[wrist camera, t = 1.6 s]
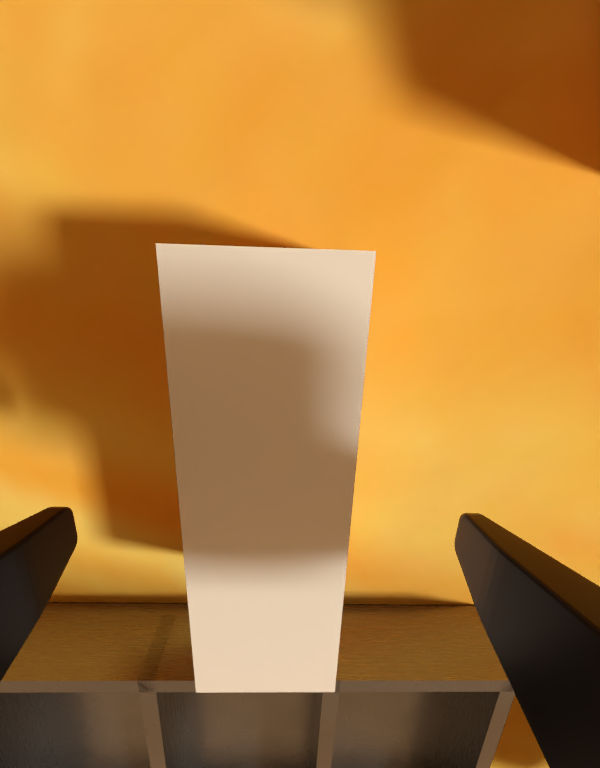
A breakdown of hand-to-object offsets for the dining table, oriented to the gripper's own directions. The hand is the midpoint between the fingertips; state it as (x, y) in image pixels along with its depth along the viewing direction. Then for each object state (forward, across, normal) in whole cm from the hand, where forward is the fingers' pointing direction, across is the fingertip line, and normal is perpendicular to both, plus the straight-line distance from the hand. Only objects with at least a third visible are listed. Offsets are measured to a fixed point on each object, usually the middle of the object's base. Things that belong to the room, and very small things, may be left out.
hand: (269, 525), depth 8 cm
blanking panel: (+5, 0, 0) cm, 5 cm away
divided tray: (+5, +1, +16) cm, 17 cm away
